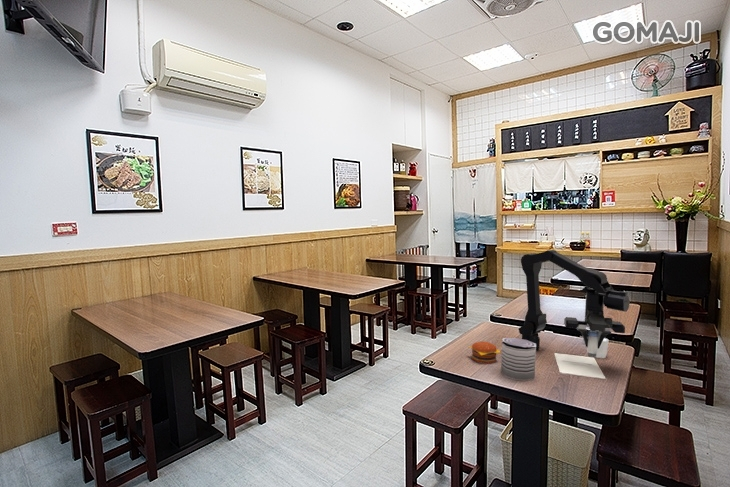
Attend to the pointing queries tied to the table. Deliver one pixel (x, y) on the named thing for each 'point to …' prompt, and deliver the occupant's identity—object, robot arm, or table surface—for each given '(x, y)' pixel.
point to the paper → (578, 365)
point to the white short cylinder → (602, 349)
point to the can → (518, 359)
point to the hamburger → (484, 352)
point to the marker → (592, 343)
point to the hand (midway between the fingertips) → (592, 347)
